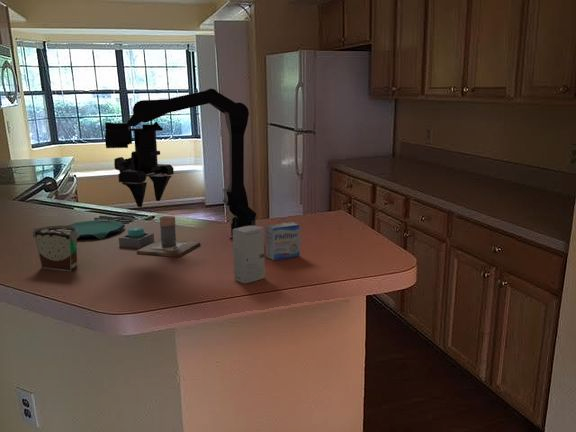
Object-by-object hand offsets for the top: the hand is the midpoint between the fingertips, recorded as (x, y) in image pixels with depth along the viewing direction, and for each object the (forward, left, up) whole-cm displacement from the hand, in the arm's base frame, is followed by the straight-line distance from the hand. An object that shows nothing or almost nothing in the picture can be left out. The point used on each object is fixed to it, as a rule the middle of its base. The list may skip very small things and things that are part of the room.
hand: (149, 203), depth 138 cm
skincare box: (-37, +16, -13) cm, 42 cm away
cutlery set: (+30, -14, -13) cm, 35 cm away
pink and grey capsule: (-6, 0, -12) cm, 13 cm away
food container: (+12, +20, -13) cm, 27 cm away
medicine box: (-39, -2, -13) cm, 41 cm away
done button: (+6, -2, -11) cm, 12 cm away
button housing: (+6, -2, -13) cm, 14 cm away
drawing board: (-6, 0, -13) cm, 14 cm away
